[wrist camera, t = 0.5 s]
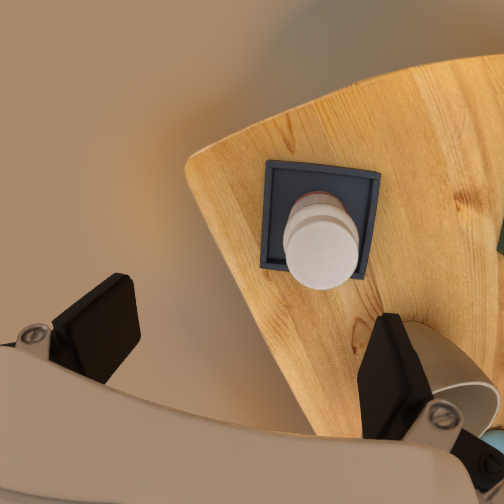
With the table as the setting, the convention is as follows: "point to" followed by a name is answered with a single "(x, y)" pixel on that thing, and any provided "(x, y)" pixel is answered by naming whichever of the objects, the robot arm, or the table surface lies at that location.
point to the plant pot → (455, 377)
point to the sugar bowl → (494, 439)
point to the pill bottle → (320, 241)
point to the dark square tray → (310, 180)
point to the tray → (501, 241)
